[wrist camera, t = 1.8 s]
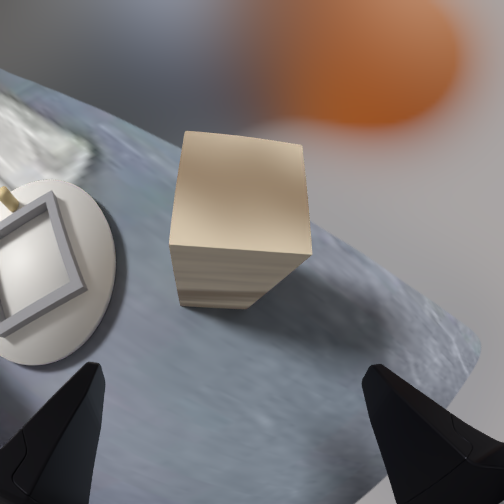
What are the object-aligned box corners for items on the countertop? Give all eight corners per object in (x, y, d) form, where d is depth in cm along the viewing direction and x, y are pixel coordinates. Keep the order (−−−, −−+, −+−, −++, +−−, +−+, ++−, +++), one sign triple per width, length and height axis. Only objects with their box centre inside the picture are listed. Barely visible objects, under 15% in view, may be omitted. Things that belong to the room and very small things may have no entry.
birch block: (246, 309, 23) (312, 254, 11) (180, 305, 22) (169, 244, 10) (246, 247, 24) (301, 145, 12) (184, 243, 23) (185, 130, 11)
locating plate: (149, 313, 21) (142, 305, 18) (1, 391, 16) (-22, 393, 12) (84, 158, 24) (74, 135, 21) (-38, 234, 19) (-57, 220, 15)
